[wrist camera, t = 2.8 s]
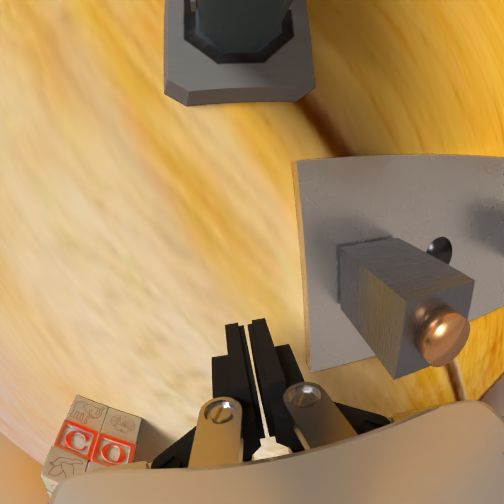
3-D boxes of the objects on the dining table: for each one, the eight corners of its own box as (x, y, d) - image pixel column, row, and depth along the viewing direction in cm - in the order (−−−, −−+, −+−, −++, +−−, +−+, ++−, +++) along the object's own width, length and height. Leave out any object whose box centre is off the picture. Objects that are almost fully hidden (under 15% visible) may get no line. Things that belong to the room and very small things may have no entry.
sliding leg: (397, 237, 17) (489, 289, 9) (394, 295, 18) (469, 363, 11) (339, 247, 17) (420, 313, 9) (340, 308, 18) (404, 393, 10)
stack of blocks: (75, 391, 20) (28, 507, 8) (143, 415, 21) (122, 542, 10) (82, 484, 25) (67, 554, 14) (126, 499, 26) (118, 570, 15)
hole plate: (529, 159, 18) (537, 160, 17) (516, 290, 22) (523, 295, 21) (290, 161, 16) (296, 161, 15) (306, 362, 21) (310, 372, 20)
